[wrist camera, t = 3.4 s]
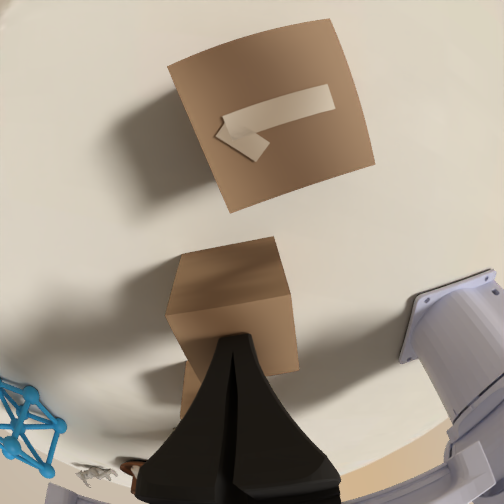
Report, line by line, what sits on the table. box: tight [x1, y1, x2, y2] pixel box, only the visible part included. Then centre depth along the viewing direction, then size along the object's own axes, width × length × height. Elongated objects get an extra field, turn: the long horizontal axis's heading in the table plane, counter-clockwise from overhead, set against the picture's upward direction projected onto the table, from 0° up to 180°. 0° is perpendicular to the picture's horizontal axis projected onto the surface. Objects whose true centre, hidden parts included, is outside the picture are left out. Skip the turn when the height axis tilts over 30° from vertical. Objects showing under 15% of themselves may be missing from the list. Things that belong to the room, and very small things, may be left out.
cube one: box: [167, 19, 375, 213], centre depth 9 cm, size 5×5×5 cm
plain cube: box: [165, 236, 299, 384], centre depth 14 cm, size 5×5×5 cm
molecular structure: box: [0, 378, 67, 479], centre depth 20 cm, size 10×10×10 cm
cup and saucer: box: [120, 461, 145, 495], centre depth 32 cm, size 12×12×6 cm
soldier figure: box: [76, 467, 118, 487], centre depth 37 cm, size 8×5×12 cm
